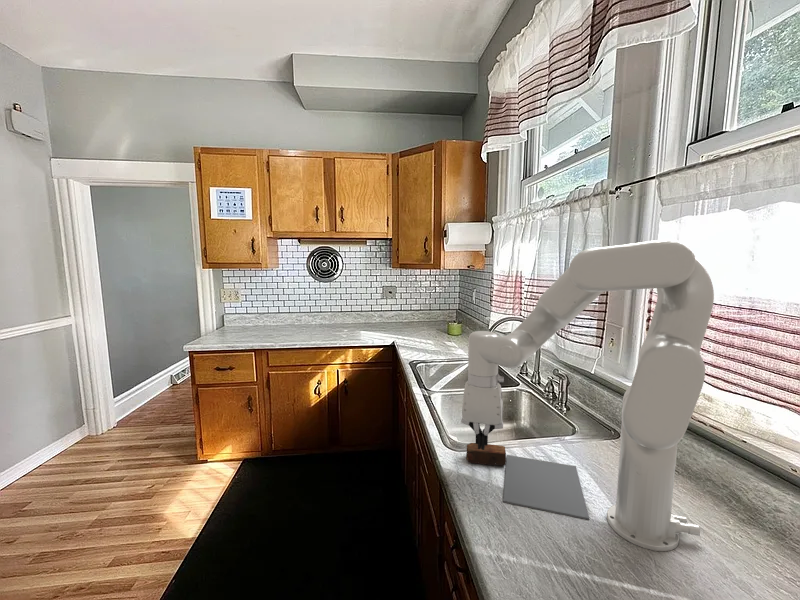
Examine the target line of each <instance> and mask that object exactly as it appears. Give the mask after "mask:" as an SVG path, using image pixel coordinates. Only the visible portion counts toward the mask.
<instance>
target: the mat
mask: <svg viewBox="0 0 800 600" xmlns="http://www.w3.org/2000/svg"><path fill="white" fill-rule="evenodd" d="M503 490H504V491H503V500H502V501H503V503H506V504H511V505H514V506H520V507H525V508H531V509H534V510H538V511H539V510H540V511H545V512H549V513H554V514H559V515H564V516H569V517H574V518H578V519H584V520H588V521H589V520H590V516H589V512H588V507H587V504H586V500H585V496H584V491H583V487H582V484H581V480H580V476H579V474H578V470H577V466H576V465H571V464H567V463H566V464H564V463H559V462H553V461H548V460H547V461H546V460H540V459H535V458H530V457H529V458H528V457H525V456H524V457H523V456H518V455H510V454H506V464H505V476H504V489H503Z"/></svg>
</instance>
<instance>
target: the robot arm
mask: <svg viewBox="0 0 800 600" xmlns="http://www.w3.org/2000/svg"><path fill="white" fill-rule="evenodd" d="M648 289H649V290H650V289H656V292H657V296H656V297H657V298H656V302H655V303H656V304H655V307H654V311H653V314H652V318H651V320H650V324H649V328H648V330H647V333H646V335H645V338H644V341H643V343H642V345H641V346H640V349H639V352H638V363H637V366H636V370H635V373H634V377H633V380H632V382H631V384H630V386H629V387H627V389H626V391H625V392H624V395H623V397H622V405H621V428H620V429H621V431H620V432H621V433H620V442H619V444H620V445H619V454H618V455H619V457H618V470H617V471H618V472H617V483H616V485H617V486H616V498H615V500H616V501H615V504H612V505H611V506H609V508H608V509H607V512H606V519H607V522H608V524H609V526H610V527H611V529H612V530H613V531H614V532H615V533H616V534H617V535H619V536H620V537H622V539H624V540H625V541H628V542H629V543H630V544H633V545H636V546H637V547H640V548H643V549H647V550H650V551H655V552H667V551H672V550H675V549H676V548H677V547H678V546H679V542H680V534H682V533H683V534H684V533H686V534H688V535H692V536H698V537H700V536H701V530H700V529H701V528H700V526H699V525H698V524H695V523H691V522H690V523H689V522H688V519H687V517H686V516H682V515H678V514H677V515H676V514H673V513H672V507H673V497H674V496H673V495H674V485H675V484H674V483H675V473H676V465H677V454H678V443H680V442H681V440H682V438H683V437H684V435H685V434H686V432H687V429H688V427H689V425H690V422H691V420H692V417H693V414H694V412H695V408H696V405H697V403H698V401H699V398H700V395H701V392H702V389H703V387H704V383H705V377H706V365H705V361H704V360H703V357H702V356H701V349H702V345H703V341H704V338H705V336H706V332H707V328H708V325H709V321H710V320H711V319H710V318H711V315H712V313H713V312H712V311H713V307H714V301H715V292H714V286H713V282H712V278H711V277H710V274H709V273H708V271H707V269H706V268H705V266H704V265H703V264H702V263H701V261H700V260H699V259H698V258H697V257H696V255H695V253H694V251H693V250H692V249H691V248H690V246H688V245H687V244H686V243H684V242H682V241H679V240H676V239H670V238H665V239H657V240H649V241H642V242H636V243H635V242H634V243H633V242H632V243H627V244H626V243H625V244H619V245H612V246H611V245H610V246H599V247H591V248H586V249H584V250H582V251H580V252H578V253H577V254H576V255H575V256H574V257H573V258H572V260H571V261H570V264H569V267H568V268H567V269H566V270H565V271H564V272H563V273H562V274H561V275H560V276H559V277H558V278H557V279H556V280H555V281H554V282H553V283H552V284H551V285H550V286H549V287H548V288H547V289H546V290H545V291H544V292H543V293H542V294H541V295H540V297H539V298H538V300H537V303H536V305H535V308H534V309H533V310H532V311H531V312H530V314H528V316H527V317H526V318H525V319H524V320H523V321H522V322H521V323H520V324H519V325H518V326H517V327H516V328H515V329H514V330H513V331H512V332H510V333H508V334H507V335H504V336H503V335H502V336H499V335H498V334H497V333H495V332H493V331H488V330H475V331H473V332H471V333H470V334H468V335H469V336H468V348H467V349H468V355H467V356H468V357H467V358H468V359H467V361H468V362H467V364H468V365H467V366H468V367H467V370H468V371H467V380H466V381H465V384H464V390H463V397H462V406H461V407H462V408H461V409H462V410H461V421H460V422H461V424H463V425H467V426H469V428H471V429H472V430H473V432H474V434H475V443H476V444H478V449H482V450H484V448H485V445H486V446H487V444H489V443H488V442H489V441H488V440H489V434H490V433H492V431H494V430H501V429H504V422H503V417H504V416H503V415H504V403H503V399H504V398H503V391H502V386H501V384H500V383H504V382H505V381H504V380H505V379H504V376H501V375H500V374H499V366H501V367H505V368H507V369H515V368H519V367H520V366H521V365H523V364H524V363H525V362H527V360H528V359H529V358H530V357H532V356H533V355H534V354H535V353H536V352H537V351H538V350H539V349H540V348H541V347H542V346H544V344H546V342H548V341H549V340H550V339H551V338H552V337H553V336H554V335H556V333H557V332H559V331H560V330H561V329H563V328H565V327H566V326H569V324H570V323H571V322H572V321H573V320H574V319H576V318H577V317H578V316H579V315H580V314H581V313H582V312H583V311H584V310H585V309H586V308H587V307H589V305H591V304H592V303H593V302H594V301H595V300H596V299H597V298H598V297H599V296H600V295H601V294H602V293H604V292H619V291H635V290H648ZM481 424H482V425H484V428H483V429H482V428H481Z"/></svg>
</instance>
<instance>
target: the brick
mask: <svg viewBox="0 0 800 600" xmlns="http://www.w3.org/2000/svg"><path fill="white" fill-rule="evenodd" d="M465 453H466V457H465V459H466V461H467V462H468V463H471V464H480V465H491V466H503V467H504V466H506V462H507V451H506V447H505V446H504V445H497V444H489V443H488V444H487V446H486V445H485V448H484V450H482V449H478V444H476V442H470V443H467V445H466V452H465Z"/></svg>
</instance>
